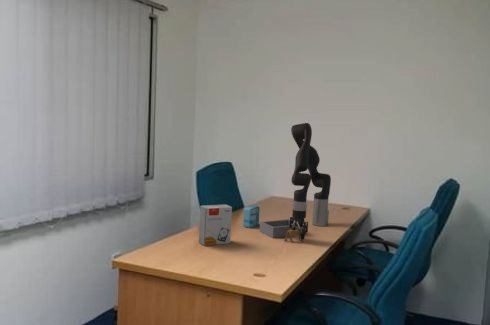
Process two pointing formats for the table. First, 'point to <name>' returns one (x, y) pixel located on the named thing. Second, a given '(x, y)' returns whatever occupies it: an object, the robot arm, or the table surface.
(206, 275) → the table surface
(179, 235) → the table surface
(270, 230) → the bin
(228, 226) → the hard drive box
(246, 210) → the data package
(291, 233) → the lion figurine
